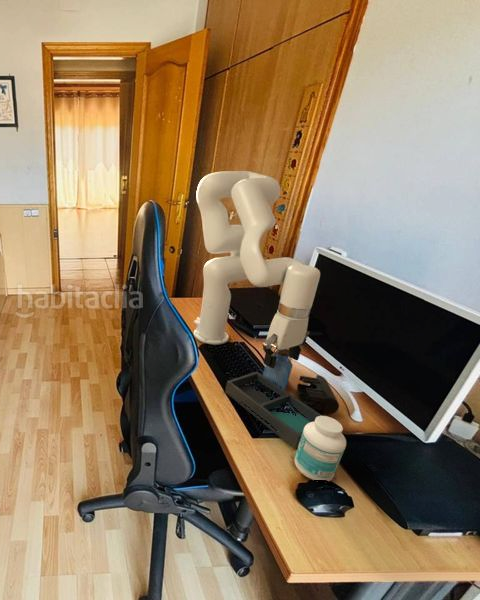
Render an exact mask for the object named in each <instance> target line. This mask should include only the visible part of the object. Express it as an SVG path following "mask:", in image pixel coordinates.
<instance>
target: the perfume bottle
mask: <svg viewBox="0 0 480 600" xmlns="http://www.w3.org/2000/svg"><path fill="white" fill-rule="evenodd" d="M288 353H289V348H287V349H283V350H279V352H278V353H277V354H276V357H277V358H276V362H275V367H274V368H270V367H269V366H267V365H266V364H265V366H264V369H263V373H262V375H263V376H264V377H266V378H267V379H269V380H270V381H272V382H274V383H276V384H277V385H278V386H279V387H281V388H282V389H283V390H285V391H286V388H287V385H288V383H289V381H290V380H289V379H290V377H291V372H292V369H293V366H294V365H293V363H292V361H291V358H290V357H289V354H288Z"/></svg>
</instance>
